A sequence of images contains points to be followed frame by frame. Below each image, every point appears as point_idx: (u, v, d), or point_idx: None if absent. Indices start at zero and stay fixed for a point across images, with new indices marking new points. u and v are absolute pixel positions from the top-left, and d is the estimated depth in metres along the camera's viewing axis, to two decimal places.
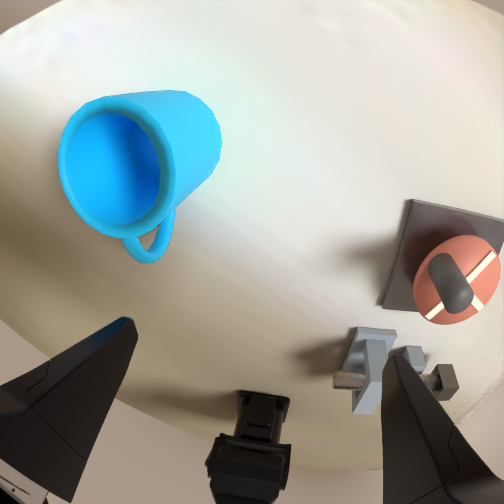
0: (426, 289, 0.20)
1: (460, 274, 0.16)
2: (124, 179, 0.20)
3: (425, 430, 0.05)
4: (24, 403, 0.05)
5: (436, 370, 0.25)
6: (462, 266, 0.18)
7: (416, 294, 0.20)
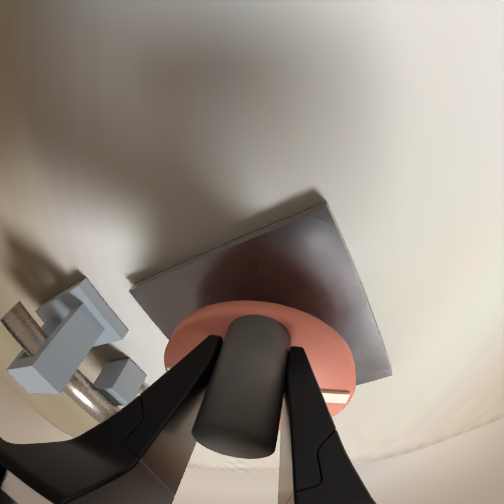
0: None
1: (279, 401, 0.07)
2: None
3: (293, 429, 0.06)
4: (127, 455, 0.05)
5: None
6: None
7: (180, 332, 0.11)
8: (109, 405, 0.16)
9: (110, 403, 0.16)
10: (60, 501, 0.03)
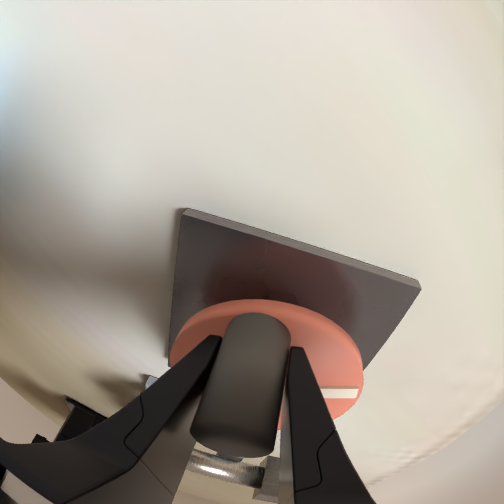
0: None
1: (277, 398, 0.07)
2: None
3: (294, 429, 0.06)
4: (126, 455, 0.05)
5: (265, 463, 0.17)
6: None
7: (182, 336, 0.11)
8: (226, 463, 0.17)
9: (227, 461, 0.17)
10: (59, 501, 0.03)
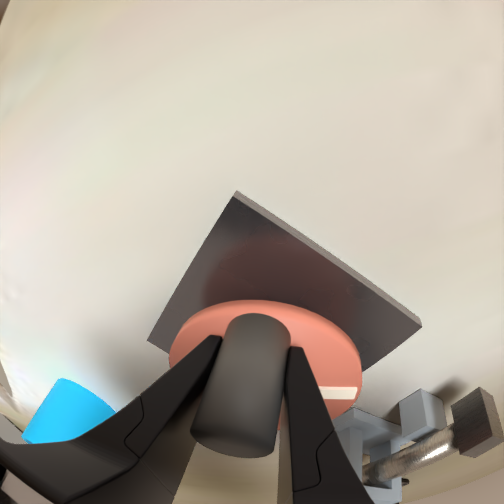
0: None
1: (277, 399, 0.07)
2: None
3: (293, 429, 0.06)
4: (127, 456, 0.05)
5: (455, 415, 0.12)
6: None
7: (181, 335, 0.11)
8: (418, 446, 0.12)
9: (419, 443, 0.13)
10: (60, 501, 0.03)
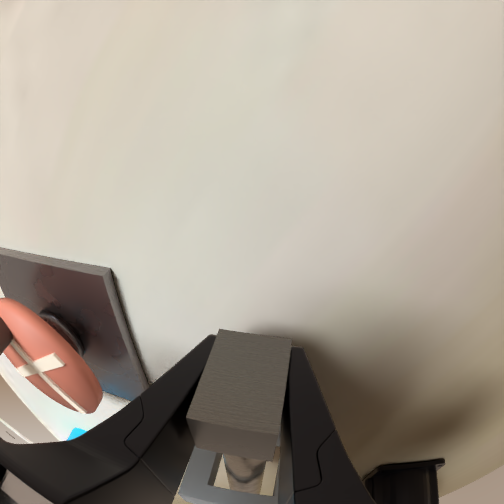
0: None
1: None
2: None
3: (293, 429, 0.06)
4: (127, 456, 0.05)
5: None
6: (23, 344, 0.11)
7: None
8: None
9: None
10: (60, 501, 0.03)
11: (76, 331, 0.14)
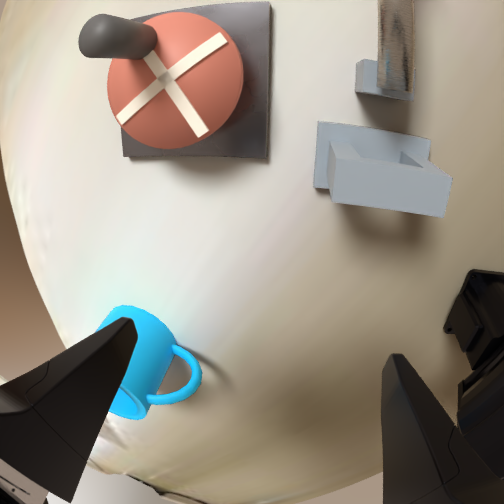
0: (120, 73, 0.14)
1: (123, 18, 0.10)
2: None
3: (425, 430, 0.05)
4: (24, 403, 0.05)
5: None
6: (170, 47, 0.13)
7: (108, 78, 0.14)
8: None
9: None
10: None
11: None
